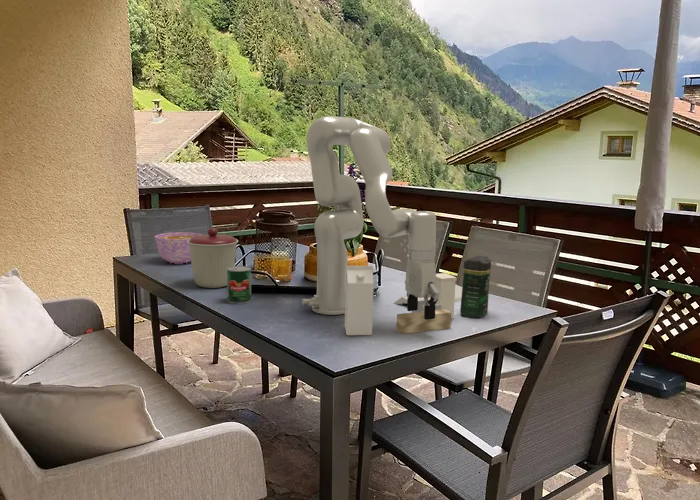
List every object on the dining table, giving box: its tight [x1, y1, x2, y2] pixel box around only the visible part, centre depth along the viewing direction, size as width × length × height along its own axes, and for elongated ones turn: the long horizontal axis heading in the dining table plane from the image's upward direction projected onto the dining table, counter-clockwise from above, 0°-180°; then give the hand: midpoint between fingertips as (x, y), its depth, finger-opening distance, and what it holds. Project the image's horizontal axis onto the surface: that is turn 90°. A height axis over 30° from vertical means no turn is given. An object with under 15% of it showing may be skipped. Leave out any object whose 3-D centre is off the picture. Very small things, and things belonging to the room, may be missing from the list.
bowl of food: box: [154, 231, 203, 265], centre depth 254 cm, size 20×20×12 cm
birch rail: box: [395, 309, 452, 335], centre depth 171 cm, size 16×4×5 cm, turn 113°
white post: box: [411, 272, 458, 320], centre depth 182 cm, size 11×7×13 cm, turn 113°
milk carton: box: [344, 265, 375, 336], centre depth 166 cm, size 7×7×19 cm
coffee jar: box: [459, 255, 492, 318], centre depth 186 cm, size 10×8×19 cm
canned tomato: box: [226, 265, 252, 304], centre depth 196 cm, size 8×8×11 cm
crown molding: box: [393, 283, 462, 305], centre depth 204 cm, size 29×12×4 cm, turn 134°
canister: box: [187, 227, 239, 289], centre depth 215 cm, size 18×18×21 cm
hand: (420, 314), depth 170 cm, fingers open, 9 cm apart
